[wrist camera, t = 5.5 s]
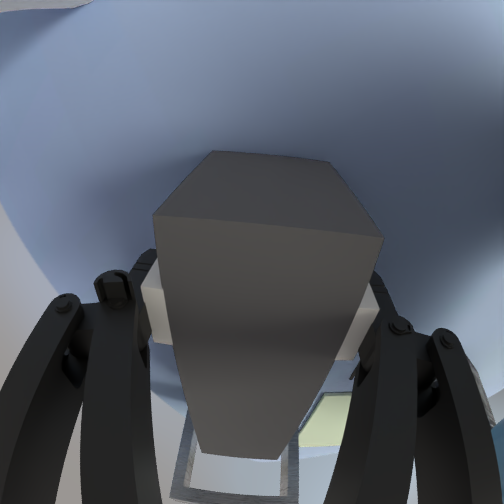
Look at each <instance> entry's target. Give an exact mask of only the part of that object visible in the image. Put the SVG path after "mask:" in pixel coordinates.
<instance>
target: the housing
mask: <svg viewBox="0 0 504 504" xmlns="http://www.w3.org/2000/svg"><path fill="white" fill-rule="evenodd" d="M197 441H198V439H197V436H196V433H195V430H194V427H193V423H192V420H191V416H190V413H189V409H188V411H187V415H186V420H185V424H184V429H183V434H182V438H181V443H180V448H179V452H178V457H177V462H176V467H175V472H174V477H173V481H172V487H171V492H170V498H171V499H173V500H175V501H178V502H183V503H188V504H298V498H299V497H298V496H299V494H298V493H299V431H298V428H297V430H296V432H295V433H294V435H293V436H292V438H291V440H290V441H289V443H288V444H287V446H286V447H285V449H284V450H283V452H282V453H281V482H280V496H255V495H240V494H230V493H221V492H214V491H207V490H201V489H195V488H189V485H190V480H191V474H192V469H193V463H194V457H195V452H196V446H197Z"/></svg>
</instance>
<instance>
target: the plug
mask: <svg viewBox="0 0 504 504" xmlns="http://www.w3.org/2000/svg"><path fill="white" fill-rule="evenodd" d="M153 224H154V233H155V242H156V250H157V258H158V265H159V272H160V279H161V286H162V289H163V291H164V298H165V304H166V310H167V316H168V321H169V327H170V332H171V337H172V342H173V349H174V354H175V358H176V363H177V367H178V371H179V375H180V379H181V383H182V387H183V391H184V395H185V399H186V402H187V406H188V409H189V413H190V416H191V420H192V423H193V427H194V430H195V433H196V436H197V439H198V442H199V445H200V449H201V452H202V453H207V454H214V455H222V456H230V457H240V458H252V459H270V460H277V459H278V458H279V456H280V455H281V453H282V452H283V450H284V449H285V447H286V446H287V444H288V443H289V441H290V440H291V438H292V436H293V435H294V433H295V432H296V430H297V428H298V427H299V425H300V423H301V422H302V420H303V418H304V417H305V415H306V413H307V412H308V410H309V408H310V406H311V405H312V403H313V401H314V399H315V398H316V396H317V394H318V392H319V390H320V388H321V387H322V385H323V383H324V381H325V379H326V377H327V375H328V373H329V371H330V369H331V367H332V365H333V363H334V361H335V358H336V356H337V354H338V352H339V350H340V348H341V346H342V344H343V342H344V339H345V337H346V335H347V333H348V331H349V328H350V326H351V324H352V322H353V319H354V317H355V315H356V313H357V310H358V308H359V306H360V304H361V301H362V299H363V296H364V294H365V291H366V289H367V286H368V283H369V281H370V278H371V275H372V273H373V270H374V267H375V264H376V262H377V259H378V256H379V253H380V250H381V247H382V244H383V241H384V237H383V235H382V234H381V232H380V231H379V229H378V228H377V226H376V225H375V223H374V222H373V220H372V219H371V217H370V216H369V214H368V213H367V212H366V210H365V209H364V207H363V206H362V205H361V203H360V202H359V200H358V199H357V198H356V196H355V195H354V194H353V192H352V191H351V190H350V188H349V187H348V186H347V184H346V183H345V182H344V180H343V179H342V178H341V176H340V175H339V174H338V173H337V171H336V170H335V169H334V168H333V166H332V165H331V164H330V163H329V162H324V161H317V160H310V159H303V158H295V157H286V156H277V155H267V154H256V153H244V152H229V151H212V152H211V153H210V154H209V155H208V156H207V157H206V158H205V159H204V160H203V161H202V162H201V163H200V164H199V165H198V166H197V167H196V168H195V169H194V170H193V171H192V172H191V173H190V174H189V175H188V176H187V177H186V179H185V180H184V181H183V182H182V183H181V184H180V185H179V186H178V187H177V188H176V189H175V190H174V192H173V193H172V194H171V195H170V196H169V197H168V198H167V199H166V200H165V202H164V203H163V204H162V205H161V206H160V207H159V208H158V210H157V211H156V212H155V213H154V214H153Z"/></svg>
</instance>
